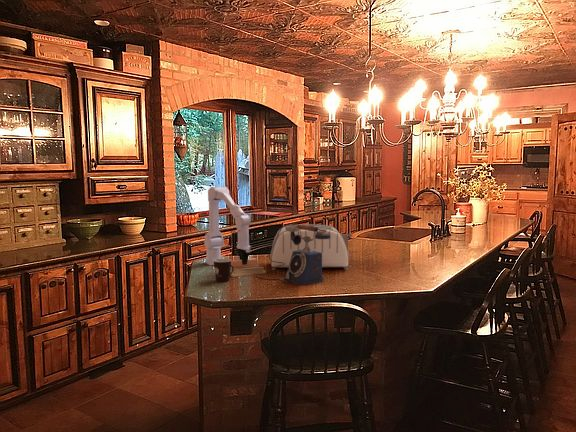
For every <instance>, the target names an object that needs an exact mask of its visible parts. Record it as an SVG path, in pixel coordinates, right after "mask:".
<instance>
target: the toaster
mask: <svg viewBox="0 0 576 432" xmlns="http://www.w3.org/2000/svg"><path fill="white" fill-rule="evenodd" d="M302 225H308V226H314V227H318V229H322V230H327V231H328V232H329V234H330V239H316V238H315V237H314V240H313V241H310V242H308V244H309V247H310V248H311V249H312V250H313V251H316V252H321V253H322V268H343V270H344V271H346V270H347V271H348V266H349V264H350V261H349V260H350V252H349V238H352V237H353V233H347V234H346V233H340V232H339V231H338V229H336V228H335V227H334V226H332V225H326V224H309V223H307V224H304V223H303V224H302ZM284 226H285V225H284ZM288 226H290V225H289V224H288V225H287V226H285V227H283V226H282V227H283V228H282V227H281V228H282V229H281V228H280V229H281V231H280V229H278V231H277V232H276V234H275V236H274V239H273V241H272V245H271V249H272V250H271V249H270V251H271V252H270V259H271V260H272V261H276V262H272V261H271V260H270V266H271V268H272V269H271V270H274V271H277V269H280V268H281V269H282V268H283V269H284V268H285V269H286V268H287V269H288V267H289V263H290V260H291V256H292V253H293V251H295V250H302V249H304V248H305V246H306V242H305V241H304V240H303V239H302V238H301V243H300V244H299V245H295V244H294V243H293V241H292V240H291V232H289V231H286V228H287V227H288ZM300 230H301V235H302V237H305V236H309V237H311V239H313V236H314V232H313V231H309V230H303V229H300ZM300 230H299V231H296V232H294V233H295V235H300ZM279 231H280V232H279ZM318 231H319V230H318ZM278 233H279V234H278ZM277 235H278V237H277ZM315 235H316V232H315ZM276 237H277V239H276ZM275 240H276V241H275ZM274 242H275V244H274ZM273 244H274V246H273ZM272 247H273V248H272ZM277 262H283V263H277ZM284 263H285V264H284ZM279 265H282V266H279ZM276 266H279V267H276ZM273 267H275V268H273Z"/></svg>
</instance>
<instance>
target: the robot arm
mask: <svg viewBox="0 0 576 432" xmlns="http://www.w3.org/2000/svg"><path fill="white" fill-rule="evenodd" d="M207 200H208V201H207V202H208V218H209V220H208V224H209V225H208V226H209V231H208V232H207V233H205V235H204V242H203V244H204V246H205V248H206V261H205V260H204V262H205V264H207V265H208V266H214V261H213V260H215V259H222V255H221V254H222V253H221V250H222V249H221V248H222V247H223V245H224V243H225V240H224V237H223V233H222V232H221V231H220V220H219V219H220V218H219V217H220V216H219V213H220V212H219V210H220V209H219V208H220V207H219V205H220V202H221V201H223V202H224V203H225V205H227V207H228V208H229V213H230V214H231V215H232V217H233V218H234V224H235V226H236V230H237V244H236V250H235V251H236V254H237V256H238V258H239V259H238V260H242V264H243V265H245V264H247V261H248V259H249V257H250V254H251V248H252V245H250V234H249V232H250V231H249V230H250V229H249V227H250V225H251V224H252V218H251V216H250V214H247V213H246V212H244V211H243V209H242V208H241V207H240V205H238V204H236V203H235V201H234V200H233V199H232V196H231V195H230V190H229V187H227V186H225V185H223V186H210V188H209V189H208V190H207Z"/></svg>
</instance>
